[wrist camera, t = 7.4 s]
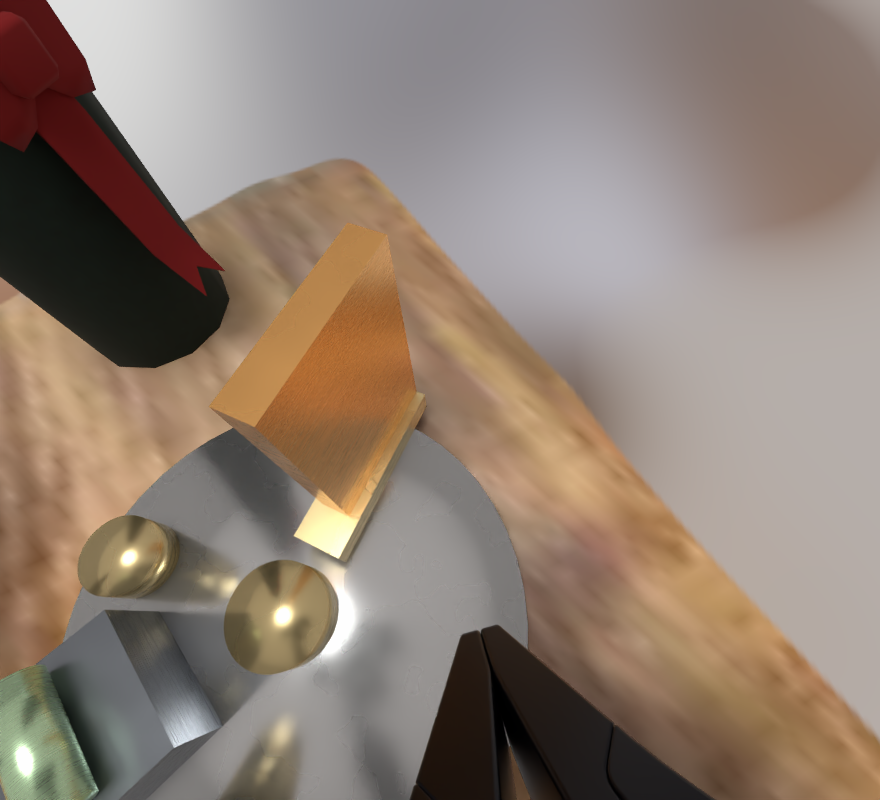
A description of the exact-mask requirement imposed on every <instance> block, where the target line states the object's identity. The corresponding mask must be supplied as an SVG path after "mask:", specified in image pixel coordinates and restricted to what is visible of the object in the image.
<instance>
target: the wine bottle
mask: <svg viewBox="0 0 880 800" xmlns="http://www.w3.org/2000/svg"><path fill="white" fill-rule="evenodd" d="M94 90H96V88H95V86H94V83H93V80H92V77H91V74H90V71H89V68H88V65H87V62H86V59H85V58H84V56H83V55H82V53H81V52H80V50H79V49H78V47H77V46H76V44H75V43H74V41H73V40H72V38H71V37H70V35H69V34H68V32H67V31H66V29H65V28H64V26H63V25H62V23H61V22H60V20H59V19H58V17H57V16H56V14H55V13H54V11H53V10H52V8H51V7H50V5H49V4H48V2H47V1H46V0H0V277H1V278H3V279H4V280H5V281H7V282H8V283H9V284H11V285H12V286H13V287H14V288H16V289H17V290H19V291H20V292H21V293H22V294H24V295H25V296H26V297H28V298H29V299H30V300H32V301H33V302H34V303H35V304H37V305H38V306H39V307H41V308H42V309H43V310H45V311H46V312H47V313H49V314H50V315H51V316H53V317H54V318H55V319H57V320H58V321H59V322H60V323H62V324H63V325H64V326H66V327H67V328H68V329H70V330H71V331H72V332H74V333H75V334H76V335H78V336H79V337H80V338H81V339H83V340H84V341H85V342H87V343H88V344H89V345H91V346H92V347H93V348H95V349H96V350H97V351H99V352H100V353H101V354H103V355H104V356H106V357H107V358H108V359H110V360H111V361H112V362H114V363H115V364H117V365H118V366H119V367H150V368H156V367H158V366H161V365H163V364H166V363H168V362H171V361H173V360H176V359H178V358H181V357H183V356H186V355H188V354H191V353H193V352H194V351H195V350H196V349H197V348H198V347H199V346H200V345H201V344H202V343H203V342H204V341H205V340H206V339H207V338H208V337H209V336H211V335H212V334H213V333H214V332H215V331H216V330H217V329H218V328H219V327H220V324H221V321H222V318H223V315H224V312H225V310H226V307H227V304H228V301H229V297H228V294H227V291H226V288H225V285H224V282H223V279H222V277H221V275H220V273H219V272H218V270H222V271H225V270H224V269H223V268H222V267H221V266H220V265H219V264H218V263H217V262H216V261H215V260H214V259H213V258H212V257H210V256H209V255H208V254H207V253H206V252H205V251H204V250H203V249H202V248H201V246H200V245H199V243H198V242H197V241H196V239H195V238H194V236H193V235H192V233H191V232H190V231H189V229H188V228H187V226H186V225H185V223H184V222H183V221H182V219H181V218H180V216H179V215H178V214H177V212H176V211H175V209H174V208H173V206H172V205H171V203H170V202H169V201H168V199H167V198H166V196H165V195H164V194H163V192H162V191H161V189H160V188H159V186H158V185H157V184H156V182H155V181H154V179H153V178H152V177H151V175H150V174H149V172H148V171H147V169H146V168H145V167H144V165H143V164H142V162H141V161H140V159H139V158H138V157H137V155H136V154H135V152H134V151H133V149H132V148H131V147H130V145H129V144H128V142H127V141H126V139H125V138H124V137H123V135H122V134H121V133H120V131H119V130H118V128H117V127H116V125H115V124H114V123H113V121H112V120H111V118H110V117H109V115H108V114H107V112H106V111H105V110H104V108H103V107H102V105H101V104H100V102H99V101H98V100H97V98H96V97H95V95H94V94H93V93H92V91H94Z"/></svg>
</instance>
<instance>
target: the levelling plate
mask: <svg viewBox="0 0 880 800" xmlns="http://www.w3.org/2000/svg"><path fill="white" fill-rule="evenodd" d="M314 500H315V497H314V496H313V495H311V494H310V493H309V492H308V491H307V490H306V489H304V488H303V487H302V486H301V485H300V484H299V483H297V482H296V481H295V480H294V479H293V478H292V477H290V476H289V475H288V474H287V473H286V472H285V471H283V470H282V469H281V468H280V467H279V466H278V465H276V464H275V463H274V462H273V461H272V460H271V459H269V458H268V457H267V456H266V455H265V454H264V453H262V452H261V451H260V450H259V449H258V448H257V447H255V446H254V445H253V444H252V443H251V442H250V441H248V440H247V439H246V438H245V437H244V436H243V435H241V434H240V433H239V432H238V431H237V430H236V429H234V428H232V429H230V430H229V431H227V432H225V433H223V434H221V435H219V436H217V437H215V438H213V439H211V440H209V441H208V442H206V443H205V444H203V445H202V446H200V447H199V448H197V449H196V450H194V451H193V452H191V453H190V454H188V455H187V456H185V457H184V458H183V459H181V460H180V461H179V462H178V463H176V464H175V465H174V466H173V467H172V468H170V469H169V470H168V471H167V472H165V473H164V474H163V475H162V476H161V477H160V478H159V479H158V480H157V481H156V482H155V483H154V484H153V485H152V486H151V487H150V488H149V489H148V490H147V491H146V492H145V493H144V494H143V495H142V496H141V497H140V498H139V499H138V500H137V502H136V503H135V504H134V505H133V506H132V508H131V509H130V510H129V511H128V512H127V514H126V515H125V516H121V517H117V518H115V519H112V520H110V521H109V522H107V523H105V524H104V525H102V526H101V527H100V528H99V529H97V530H96V531H95V532H94V533H93V534H92V536H91V537H90V538H89V539H88V541H87V542H86V544H85V546H84V547H83V549H82V552H81V554H80V557H79V562H78V577H79V580H80V583H81V585H82V586H83V587H82V589H81V591H80V594H79V596H78V598H77V601H76V603H75V605H74V608H73V611H72V614H71V618H70V621H69V624H68V627H67V630H66V633H65V637H64V640H63V643H62V644H61V645H59V646H58V647H57V648H56V649H54V650H53V651H52V652H51V653H49V654H48V655H47V656H46V657H44V658H43V659H42V660H41V661H39V662H38V663H37V664H36V665H34V666H31V667H27V668H25V669H22V670H19V671H17V672H15V673H13V674H11V675H9V676H7V677H5V678H3V679H2V680H0V800H409V799H410V796H411V793H412V789H413V786H414V785H416V778H417V775H418V772H419V769H420V765H421V762H422V759H423V756H424V752H425V749H426V746H427V743H428V739H429V736H430V733H431V730H432V726H433V723H434V720H435V717H436V714H437V710H438V707H439V704H440V701H441V697H442V694H443V691H444V688H445V684H446V681H447V678H448V675H449V672H450V668H451V665H452V662H453V659H454V655H455V652H456V649H457V646H458V642H459V639H460V637H461V635H462V634H464V633H467V632H471V631H475V630H478V631H480V633H481V629H482V628H485V627H489V626H493V625H499V626H501V627H502V628H503V629H504V630H506V631H507V632H508V633H509V634H510V635H511V636H513V637H514V638H515V639H516V640H517V641H518V642H520V643H521V644H522V645H523V646H524V647H526V648H527V649H528V621H527V611H526V602H525V593H524V587H523V583H522V578H521V574H520V570H519V565H518V561H517V558H516V555H515V552H514V549H513V546H512V544H511V541H510V538H509V535H508V533H507V530H506V528H505V526H504V524H503V522H502V520H501V518H500V516H499V514H498V512H497V510H496V508H495V506H494V505H493V503H492V502H491V500H490V499H489V497H488V496H487V494H486V493H485V491H484V490H483V488H482V487H481V485H480V484H479V482H478V481H477V480H476V479H475V478H474V477H473V476H472V474H471V473H470V472H469V471H468V470H467V469H466V468H465V466H464V465H463V464H462V463H461V462H460V461H459V460H458V459H456V458H455V457H454V456H453V455H452V454H451V453H450V452H448V451H447V450H446V449H445V448H444V447H443V446H441V445H440V444H438V443H437V442H435V441H434V440H432V439H431V438H429V437H428V436H426V435H425V434H423V433H422V432H420V431H418V430H416V429H415V430H414V432H413V433H412V435H411V437H410V439H409V441H408V443H407V445H406V447H405V449H404V451H403V453H402V455H401V457H400V459H399V461H398V463H397V465H396V466H395V468H394V470H393V472H392V474H391V476H390V478H389V480H388V482H387V484H386V486H385V488H384V490H383V492H382V494H381V496H380V497H379V499H378V501H377V503H376V505H375V507H374V509H373V511H372V513H371V515H370V517H369V519H368V521H367V523H366V525H365V527H364V529H363V530H362V532H361V534H360V536H359V538H358V540H357V542H356V544H355V546H354V548H353V550H352V552H351V554H350V556H349V558H348V560H347V561H346V562H344V561H342V560H340V559H338V558H336V557H334V556H332V555H330V554H328V553H326V552H324V551H322V550H320V549H318V548H316V547H314V546H312V545H310V544H308V543H306V542H304V541H302V540H300V539H299V538H297V537H295V536H294V535H295V533H296V531H297V529H298V528H299V526H300V524H301V522H302V521H303V519H304V517H305V516H306V514H307V512H308V510H309V509H310V507H311V505H312V503H313V502H314ZM276 560H293V561H297V562H300V563H302V564H305V565H308V566H310V567H313V568H315V569H317V570H319V571H320V572H321V573H323V574H324V575H325V576H326V577H327V579H328V580H329V581H330V583H331V584H332V586H333V589H334V591H335V594H336V598H337V606H338V612H337V620H336V625H335V628H334V631H333V634H332V636H331V638H330V640H329V641H328V643H327V645H326V646H325V647H324V649H323V650H322V651H321V652H320V653H319V654H318V655H317V656H316V657H315V658H314V659H313V660H311V661H310V662H308V663H307V664H305V665H303V666H301V667H298V668H295V669H292V670H288V671H285V672H281V673H277V674H272V675H262V674H256V673H253V672H250V671H248V670H246V669H244V668H243V667H242V666H240V665H239V664H238V663H237V662H236V661H235V660H234V658H233V657H232V656H231V654H230V652H229V650H228V648H227V645H226V642H225V637H224V617H225V612H226V608H227V605H228V602H229V600H230V597H231V596H232V594H233V592H234V590H235V589H236V587H237V586H238V584H239V583H240V582H241V581H242V580H243V579H244V578H245V577H246V576H247V575H248V574H249V573H250V572H251V571H253V570H254V569H256V568H257V567H259V566H261V565H263V564H265V563H268V562H271V561H276ZM505 732H506V730H505ZM506 736H507V734H506ZM507 740H508V737H507ZM508 745H509V746H510V744H509V741H508Z"/></svg>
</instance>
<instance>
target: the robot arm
mask: <svg viewBox="0 0 880 800" xmlns="http://www.w3.org/2000/svg"><path fill="white" fill-rule="evenodd" d="M505 730H506V732H505ZM506 734H507V736H506ZM507 737H508V740H507ZM508 741H509V744H510V746H511V749H512V752H513V755H514V757H515V760H516V762H517V765H518V767H519V770H520V773H521V775H522V778H523V780H524V783H525V785H526V788H527V790H528V793H529V795H530V798H531V800H716V799H714V798H713V797H711V796H710V795H708V794H707V793H705V792H704V791H702V790H701V789H700V788H698V787H697V786H695V785H694V784H692V783H691V782H690V781H688V780H687V779H685V778H684V777H683V776H681V775H680V774H679V773H677V772H676V771H674V770H673V769H672V768H670V767H669V766H667V765H666V764H665V763H663V762H662V761H661V760H659V759H658V758H657V757H656V756H654V755H653V754H652V753H651V752H649V751H648V750H647V749H646V748H644V747H643V746H642V745H641V744H639V743H638V742H637V741H636V740H634V739H633V738H632V737H631V736H630V735H629V734H627V733H626V732H625V731H624V730H623V729H622V728H620V727H619V726H618V725H615V724H614V722H612V721H611V720H610V719H609V718H608V717H607V716H605V715H604V714H603V713H602V712H601V711H600V710H598V709H597V708H596V707H595V706H594V705H593V704H591V703H590V702H589V701H588V700H587V699H585V698H584V697H583V696H582V695H581V694H580V693H578V692H577V691H576V690H575V689H574V688H573V687H571V686H570V685H569V684H568V683H567V682H565V681H564V680H563V679H562V678H561V677H560V676H558V675H557V674H556V673H555V672H554V671H553V670H551V669H550V668H549V667H548V666H547V665H545V664H544V663H543V662H542V661H541V660H540V659H538V658H537V657H536V656H535V655H534V654H533V653H531V652H530V651H529V650H528V649H527V648H526V647H524V646H523V645H522V644H521V643H520V642H518V641H517V640H516V639H515V638H514V637H513V636H511V635H510V634H509V633H508V632H507V631H506V630H504V629H503V628H502V627H501V626H499V625H493V626H489V627H485V628H482V629H481V633H480V631H478V630H475V631H471V632H467V633H464V634H462V635H461V637H460V639H459V642H458V646H457V649H456V652H455V655H454V659H453V662H452V665H451V668H450V672H449V675H448V678H447V681H446V684H445V688H444V691H443V694H442V697H441V701H440V704H439V707H438V710H437V714H436V717H435V720H434V723H433V726H432V730H431V733H430V736H429V739H428V743H427V746H426V749H425V752H424V756H423V759H422V762H421V765H420V769H419V772H418V775H417V778H416V785H414V786H413V789H412V793H411V796H410V799H409V800H517V798H516V791H515V784H514V777H513V770H512V764H511V757H510V751H509V745H508Z"/></svg>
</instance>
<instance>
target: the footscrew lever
mask: <svg viewBox="0 0 880 800" xmlns="http://www.w3.org/2000/svg"><path fill="white" fill-rule="evenodd" d="M209 407H210V408H211V409H212V410H213V411H215V412H216V413H217V414H218V415H219V416H220V417H222V418H223V419H224V420H225V421H226V422H227V423H229V424H230V425H231V426H232V427H233V428H234V429H236V430H237V431H238V432H239V433H240V434H241V435H243V436H244V437H245V438H246V439H247V440H248V441H250V442H251V443H252V444H253V445H254V446H255V447H257V448H258V449H259V450H260V451H261V452H262V453H264V454H265V455H266V456H267V457H268V458H269V459H271V460H272V461H273V462H274V463H275V464H276V465H278V466H279V467H280V468H281V469H282V470H283V471H285V472H286V473H287V474H288V475H289V476H290V477H292V478H293V479H294V480H295V481H296V482H297V483H299V484H300V485H301V486H302V487H303V488H304V489H306V490H307V491H308V492H309V493H310V494H311V495H313V496H314V497H315V500H314V502H313V503H312V505H311V507H310V509H309V510H308V512H307V514H306V516H305V517H304V519H303V521H302V522H301V524H300V526H299V528H298V529H297V531H296V533H295V535H294V536H295V537H297V538H299V539H300V540H302V541H304V542H306V543H308V544H310V545H312V546H314V547H316V548H318V549H320V550H322V551H324V552H326V553H328V554H330V555H332V556H334V557H336V558H338V559H340V560H342V561H344V562H346V561H347V560H348V558H349V556H350V554H351V552H352V550H353V548H354V546H355V544H356V542H357V540H358V538H359V536H360V534H361V532H362V530H363V529H364V527H365V525H366V523H367V521H368V519H369V517H370V515H371V513H372V511H373V509H374V507H375V505H376V503H377V501H378V499H379V497H380V496H381V494H382V492H383V490H384V488H385V486H386V484H387V482H388V480H389V478H390V476H391V474H392V472H393V470H394V468H395V466H396V465H397V463H398V461H399V459H400V457H401V455H402V453H403V451H404V449H405V447H406V445H407V443H408V441H409V439H410V437H411V435H412V433H413V432H414V430H415V428H416V426H417V424H418V422H419V420H420V418H421V416H422V414H423V412H424V410H425V408H426V401H425V395H424V394H422V393H419V392H417V391H416V387H415V381H414V376H413V371H412V365H411V360H410V354H409V349H408V344H407V338H406V333H405V328H404V322H403V317H402V312H401V306H400V301H399V296H398V290H397V285H396V280H395V274H394V269H393V264H392V258H391V253H390V248H389V242H388V237H387V235H386V234H383V233H380V232H377V231H373V230H370V229H367V228H364V227H360V226H357V225H354V224H350V223H347V224H346V226H345V227H344V228H343V230H342V231H341V232H340V234H339V235H338V236H337V238H336V239H335V240H334V242H333V243H332V244H331V246H330V247H329V248H328V249H327V251H326V252H325V253H324V255H323V256H322V257H321V259H320V260H319V261H318V263H317V264H316V265H315V267H314V268H313V269H312V271H311V272H310V273H309V275H308V276H307V277H306V279H305V280H304V281H303V283H302V284H301V285H300V287H299V288H298V289H297V291H296V292H295V293H294V295H293V296H292V297H291V298H290V300H289V301H288V302H287V304H286V305H285V306H284V308H283V309H282V310H281V312H280V313H279V314H278V316H277V317H276V318H275V320H274V321H273V322H272V324H271V325H270V326H269V328H268V329H267V330H266V332H265V333H264V334H263V336H262V337H261V338H260V340H259V341H258V342H257V344H256V345H255V346H254V348H253V349H252V350H251V351H250V353H249V354H248V355H247V357H246V358H245V359H244V361H243V362H242V363H241V365H240V366H239V367H238V369H237V370H236V371H235V373H234V374H233V375H232V377H231V378H230V379H229V381H228V382H227V383H226V385H225V386H224V387H223V389H222V390H221V391H220V393H219V394H218V395H217V397H216V398H215V399H214V401H213V402H212V403H211V404H210V406H209ZM337 612H338V606H337V598H336V594H335V591H334V589H333V586H332V584H331V583H330V581H329V580H328V579H327V577H326V576H325V575H324V574H323V573H321V572H320V571H319V570H317V569H315V568H313V567H310V566H308V565H305V564H302V563H300V562H297V561H293V560H276V561H271V562H268V563H265V564H263V565H261V566H259V567H257V568H256V569H254V570H253V571H251V572H250V573H249V574H248V575H247V576H246V577H245V578H244V579H243V580H242V581H241V582H240V583H239V584H238V586H237V587H236V589H235V590H234V592H233V594H232V596H231V597H230V600H229V602H228V605H227V608H226V612H225V617H224V637H225V642H226V645H227V648H228V650H229V652H230V654H231V656H232V657H233V658H234V660H235V661H236V662H237V663H238V664H239V665H240V666H242V667H243V668H244V669H246V670H248V671H250V672H253V673H256V674H262V675H272V674H277V673H281V672H285V671H288V670H292V669H295V668H298V667H301V666H303V665H305V664H307V663H308V662H310V661H311V660H313V659H314V658H315V657H316V656H317V655H318V654H319V653H320V652H321V651H322V650H323V649H324V647H325V646H326V645H327V643H328V641H329V640H330V638H331V636H332V634H333V631H334V628H335V625H336V620H337Z"/></svg>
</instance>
